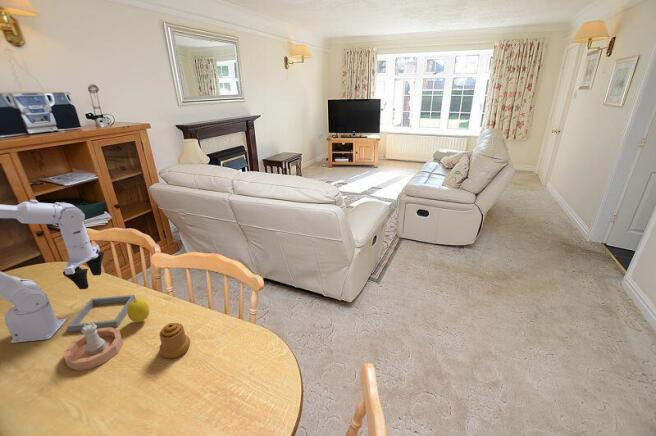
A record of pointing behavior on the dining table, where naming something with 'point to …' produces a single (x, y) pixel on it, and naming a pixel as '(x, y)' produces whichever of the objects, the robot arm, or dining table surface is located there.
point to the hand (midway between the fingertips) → (90, 281)
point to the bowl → (82, 360)
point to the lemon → (138, 310)
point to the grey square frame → (77, 326)
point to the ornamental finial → (173, 340)
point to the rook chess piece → (93, 339)
